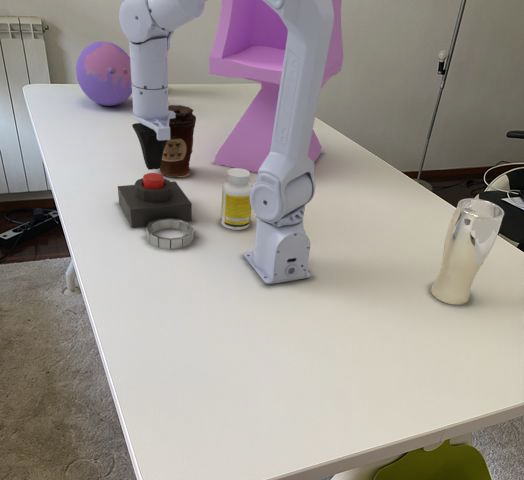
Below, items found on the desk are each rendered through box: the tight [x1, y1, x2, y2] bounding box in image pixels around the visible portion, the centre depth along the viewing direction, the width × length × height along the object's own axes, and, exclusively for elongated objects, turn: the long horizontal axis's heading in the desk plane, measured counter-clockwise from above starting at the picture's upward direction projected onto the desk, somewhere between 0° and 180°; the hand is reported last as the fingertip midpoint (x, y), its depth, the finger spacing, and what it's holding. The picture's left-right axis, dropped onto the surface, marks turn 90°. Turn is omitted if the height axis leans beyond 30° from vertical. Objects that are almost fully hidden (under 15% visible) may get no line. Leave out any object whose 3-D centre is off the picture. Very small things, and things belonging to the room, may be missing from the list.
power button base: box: [117, 177, 193, 229], centre depth 100 cm, size 10×11×6 cm
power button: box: [142, 172, 165, 189], centre depth 98 cm, size 4×4×2 cm
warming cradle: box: [145, 217, 195, 250], centre depth 95 cm, size 9×8×2 cm
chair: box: [208, 0, 344, 174], centre depth 114 cm, size 22×22×45 cm
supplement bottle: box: [220, 167, 253, 231], centre depth 98 cm, size 5×5×10 cm
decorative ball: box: [75, 40, 132, 107], centre depth 143 cm, size 15×15×15 cm
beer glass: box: [430, 197, 505, 306], centre depth 84 cm, size 7×7×15 cm
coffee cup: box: [159, 104, 197, 178], centre depth 113 cm, size 9×8×13 cm
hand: (153, 167), depth 97 cm, fingers closed
